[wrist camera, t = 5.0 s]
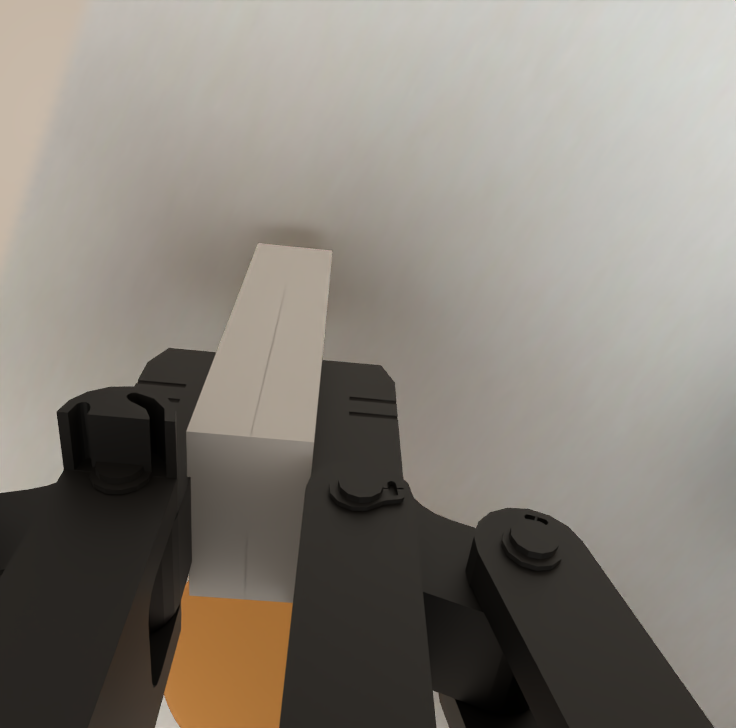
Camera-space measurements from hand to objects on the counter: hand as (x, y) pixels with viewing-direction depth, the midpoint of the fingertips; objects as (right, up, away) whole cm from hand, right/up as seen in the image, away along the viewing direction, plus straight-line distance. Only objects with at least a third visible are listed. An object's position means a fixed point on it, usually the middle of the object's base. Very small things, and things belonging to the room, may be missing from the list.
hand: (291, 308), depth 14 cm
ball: (-1, -9, +4) cm, 10 cm away
